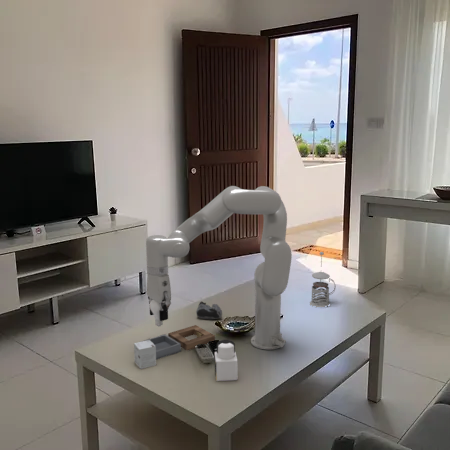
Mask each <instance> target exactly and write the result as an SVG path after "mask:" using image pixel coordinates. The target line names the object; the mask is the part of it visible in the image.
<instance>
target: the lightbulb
mask: <svg viewBox="0 0 450 450" xmlns="http://www.w3.org/2000/svg"><path fill="white" fill-rule="evenodd" d="M162 301H164V300H162ZM163 305H165V303H162V306H163ZM150 310H151V311H152V313H153V314H154V315H153V317H154V320H155V322H154V323H155V326H156V327H161V326H163V321H160V313H159V310H160V305H159V303H158V302H156V301H155V300H153V299H152V301H151V302H150V304H149V311H150Z"/></svg>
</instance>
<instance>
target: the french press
mask: <svg viewBox="0 0 450 450" xmlns="http://www.w3.org/2000/svg"><path fill="white" fill-rule="evenodd" d="M319 255H320V258H321V261H320V263H321V264H320V266H322V262H323V261H322V259H323V257H322V256H323V255H325V254H324V252H323V251H320V252H319ZM311 277H312V278H314V279H316V280H320V281H315V282H313V283H312V286H311V301H309V303H310V304H309V305H310V306H311V305H312V306H311V307H313V306H316V307H315V308H317V307H325V306H328V305H329V304H331V303H330V296H331V295H332V294H334V293H335V291H336V284H335V281H334V280H333V279H332V278H331V276H330V274H328V273H326V272H324V271H323V272H322V271H317V272H314V273H312V274H311ZM326 279H327V280H328V283H327V282H324V281H322V280H326ZM330 281H332V283H333V284H334V287H333V288H334V289H333V290H332V292H330V291H329V290H330V287H329V283H330Z"/></svg>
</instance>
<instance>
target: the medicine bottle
mask: <svg viewBox="0 0 450 450" xmlns="http://www.w3.org/2000/svg"><path fill="white" fill-rule="evenodd" d="M238 365H239V364H238V357H237V353H236V343H235V342H234V341H233V340H230V339H222V340H219V341H217V343H216V351H214V375H215V381H216V382H222V381H225V382H226V381H237V380H238V379H239V377H238V375H239V374H238V373H239V372H238V371H239V369H238V367H239V366H238Z"/></svg>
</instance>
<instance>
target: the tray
mask: <svg viewBox="0 0 450 450" xmlns="http://www.w3.org/2000/svg"><path fill="white" fill-rule="evenodd" d="M147 340H150V341H151V342H153V344H154V345H155V346H156V361H157V360H160V359H162V358H165V357H169V356H171V355H174V354H179V353H181V352H182V348H181V344H180V343H179V342H177V341H175V340H174V339H172V338H170V337H169V336H168V334H162V335H161V334H160V335H157V336H154V337H152V338H151V337H150V338H148V339H144V340H142V341H147ZM142 341H140V342H142Z"/></svg>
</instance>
